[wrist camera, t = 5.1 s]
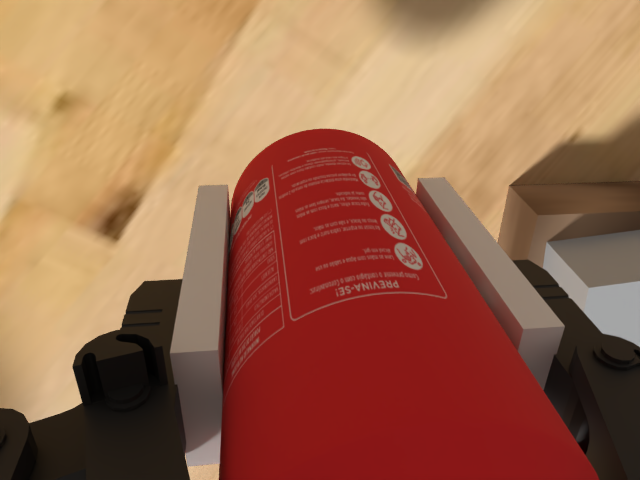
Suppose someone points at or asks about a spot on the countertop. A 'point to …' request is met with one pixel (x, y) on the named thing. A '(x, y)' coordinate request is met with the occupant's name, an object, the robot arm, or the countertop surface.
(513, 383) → the beverage can
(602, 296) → the tower top
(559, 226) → the tower base
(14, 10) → the countertop surface
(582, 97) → the countertop surface
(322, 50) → the countertop surface
